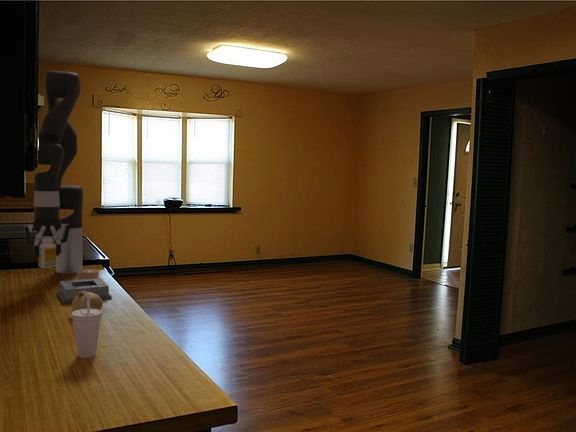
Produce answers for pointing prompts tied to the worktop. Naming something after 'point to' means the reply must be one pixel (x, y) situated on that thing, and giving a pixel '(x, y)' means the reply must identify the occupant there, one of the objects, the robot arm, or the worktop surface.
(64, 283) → the collar socket
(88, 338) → the smoothie
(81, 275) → the brown egg
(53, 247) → the supplement bottle
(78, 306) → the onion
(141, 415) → the worktop surface
